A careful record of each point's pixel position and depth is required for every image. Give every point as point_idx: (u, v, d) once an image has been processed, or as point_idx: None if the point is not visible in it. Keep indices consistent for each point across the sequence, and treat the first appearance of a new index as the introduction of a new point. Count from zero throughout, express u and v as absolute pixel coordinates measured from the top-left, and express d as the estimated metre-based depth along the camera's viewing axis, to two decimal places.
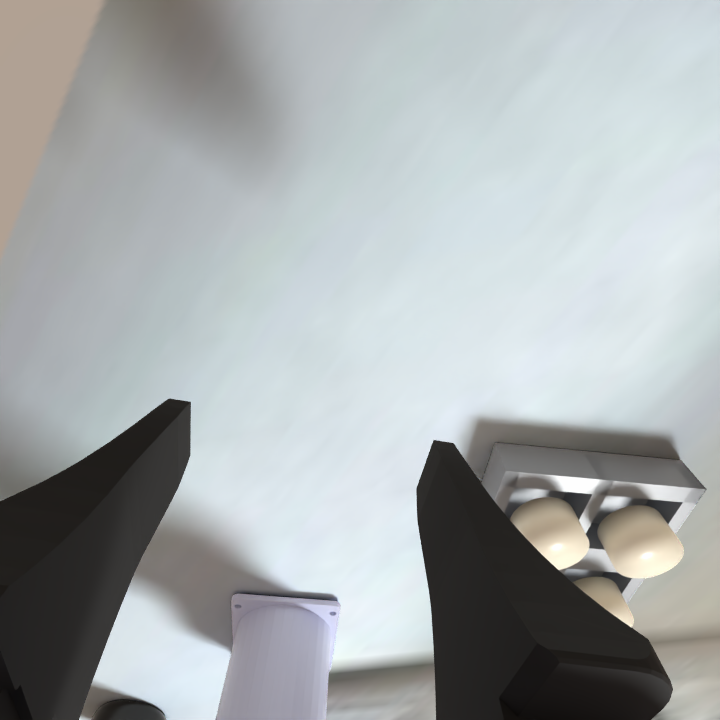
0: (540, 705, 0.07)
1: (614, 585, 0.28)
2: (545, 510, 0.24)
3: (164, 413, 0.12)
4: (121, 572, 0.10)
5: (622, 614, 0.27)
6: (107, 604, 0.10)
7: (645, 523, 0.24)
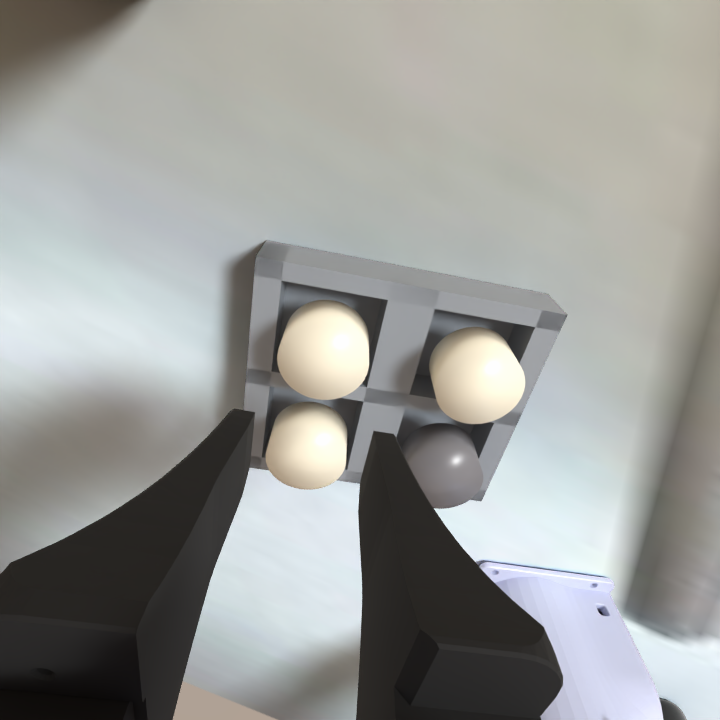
0: (430, 693, 0.07)
1: (443, 343, 0.19)
2: None
3: (234, 424, 0.12)
4: (203, 582, 0.10)
5: (456, 368, 0.18)
6: (193, 614, 0.10)
7: None
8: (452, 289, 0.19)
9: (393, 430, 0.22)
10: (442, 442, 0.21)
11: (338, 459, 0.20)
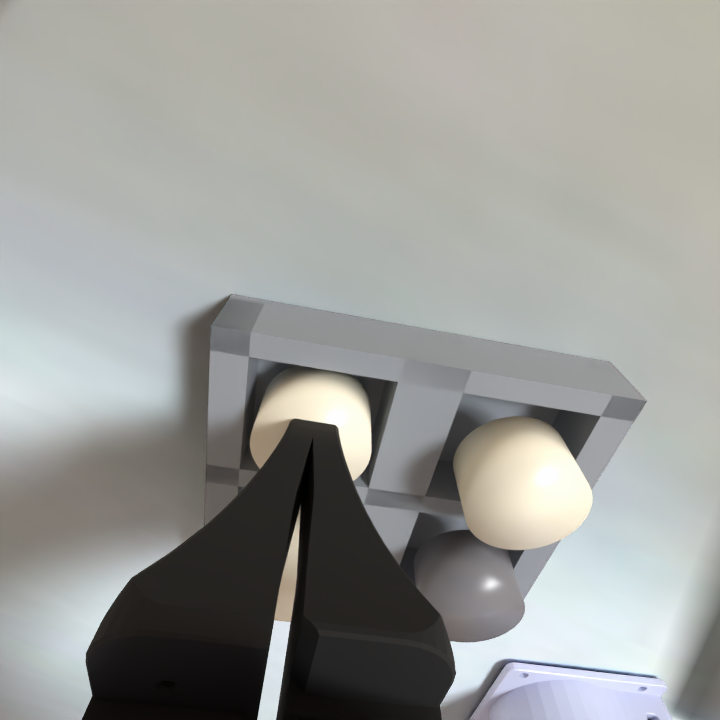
0: (321, 682, 0.07)
1: (473, 439, 0.14)
2: None
3: (299, 434, 0.12)
4: None
5: (496, 484, 0.13)
6: None
7: None
8: (487, 365, 0.14)
9: (403, 537, 0.17)
10: (470, 564, 0.15)
11: None
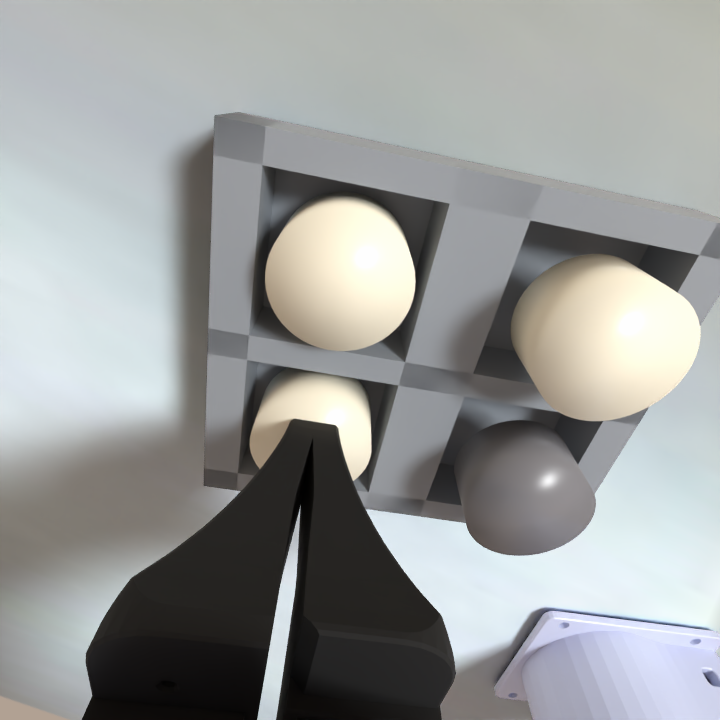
0: (321, 682, 0.07)
1: (542, 282, 0.11)
2: None
3: (299, 434, 0.12)
4: None
5: (580, 319, 0.10)
6: None
7: None
8: (559, 187, 0.11)
9: (443, 431, 0.14)
10: (530, 451, 0.13)
11: (359, 448, 0.13)
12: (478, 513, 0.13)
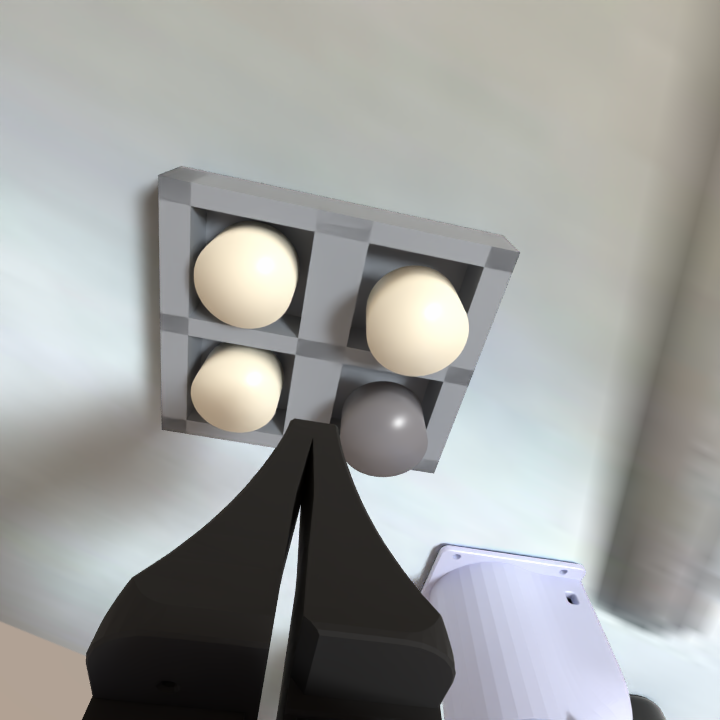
0: (321, 682, 0.07)
1: (379, 284, 0.17)
2: None
3: (299, 434, 0.12)
4: None
5: (389, 307, 0.16)
6: None
7: None
8: (389, 221, 0.17)
9: (331, 389, 0.20)
10: (381, 400, 0.18)
11: (268, 398, 0.19)
12: (348, 443, 0.19)
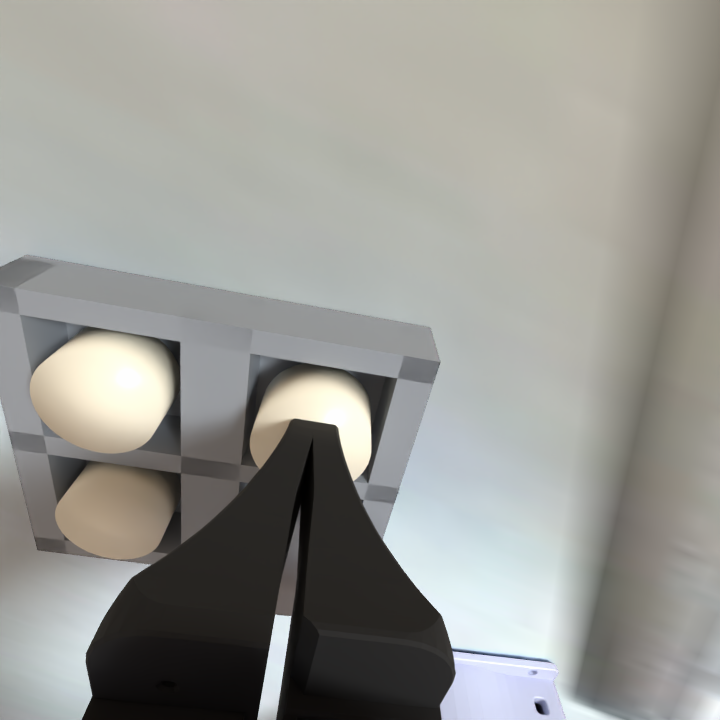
0: (321, 682, 0.07)
1: (271, 385, 0.14)
2: None
3: (299, 434, 0.12)
4: None
5: (272, 423, 0.13)
6: None
7: None
8: (276, 325, 0.13)
9: None
10: None
11: (150, 525, 0.16)
12: None
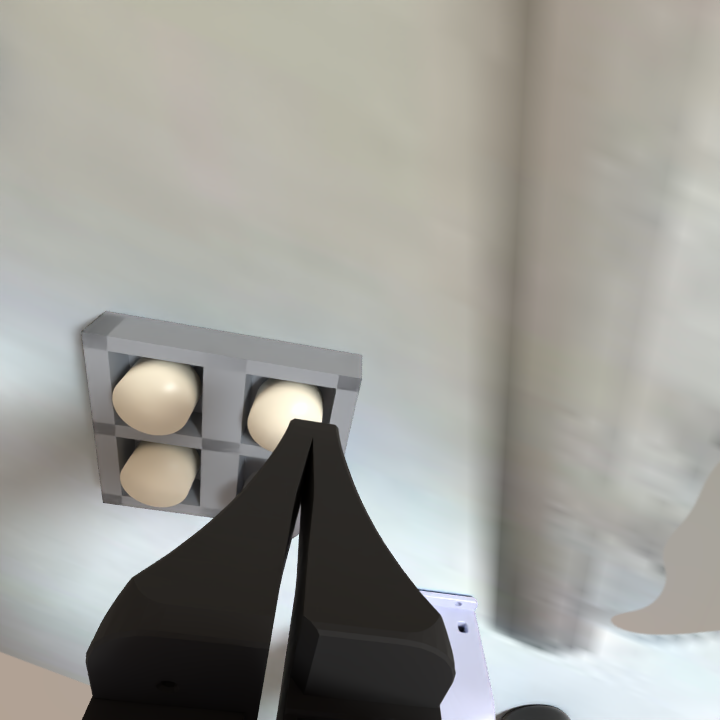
0: (321, 682, 0.07)
1: (260, 387, 0.23)
2: None
3: (299, 434, 0.12)
4: None
5: (261, 410, 0.22)
6: None
7: None
8: (261, 356, 0.22)
9: (233, 473, 0.25)
10: None
11: (181, 483, 0.24)
12: None
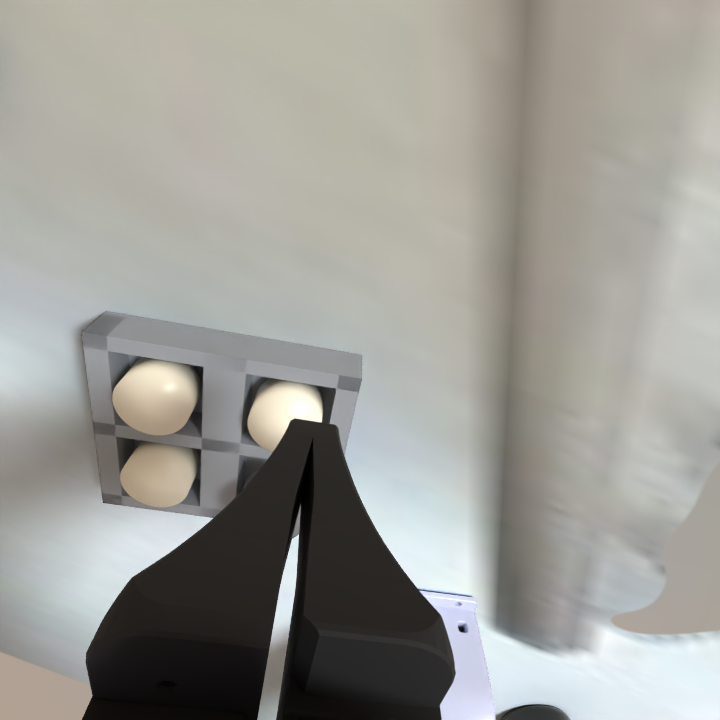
0: (321, 682, 0.07)
1: (260, 387, 0.23)
2: None
3: (299, 434, 0.12)
4: None
5: (261, 410, 0.22)
6: None
7: None
8: (261, 356, 0.22)
9: (233, 473, 0.25)
10: None
11: (181, 483, 0.24)
12: None
